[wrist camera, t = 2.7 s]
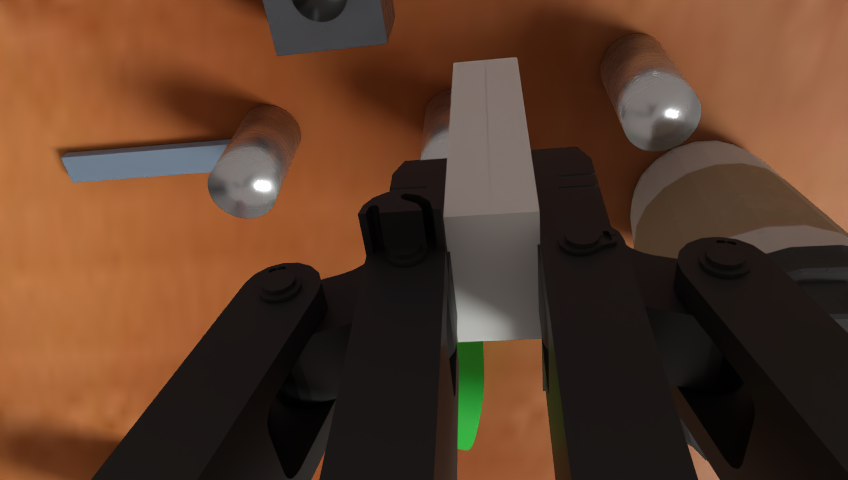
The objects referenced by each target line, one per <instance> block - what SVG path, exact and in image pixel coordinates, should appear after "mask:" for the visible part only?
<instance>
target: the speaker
mask: <svg viewBox="0 0 848 480" xmlns="http://www.w3.org/2000/svg"><path fill="white" fill-rule="evenodd" d="M263 4H264V8H265V12H266V16H267V19H268V23H269V27H270V31H271V35H272V38H273V42H274V46H275V50H276V53H277V56H282V55H291V54H300V53H309V52H318V51H327V50H336V49H344V48H353V47H362V46H371V45H380V44H388V40H389V36H390V33H391V29H392V26H393V22H394V18H395V12H394V6H393V0H263Z"/></svg>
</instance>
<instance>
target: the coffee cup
mask: <svg viewBox="0 0 848 480" xmlns="http://www.w3.org/2000/svg"><path fill="white" fill-rule="evenodd" d="M630 221H631V228H632V235H633V243H634V249H635V250H637V251H640V252H642V253H647V254H651V255H656V256H663V257H670V258H676V259H677V258H678V254H679V251H680V250H681V249H682V248H683V247H684V246H685V245H686V244H687V243H689V242H692V241H695V240H697V239H700V238H708V237H725V238H732V239H738V240H741V241H743V242H746V243H749V244H752V245H754V246H755V247H757V248H758V249H760V250H761V251H763V252H764V253H766V254H767V255H768V256H769V257H770V258H771V259H772V260H773V261H774V262H775V263H776V264H777V265H778V266H779V267H780V268H781V269H782V270H783V271H784V272H785V273H787V274H788V275H789V276H790V277H791V278H792V279H793V280H794V281H795V282H796V283H797V284H798V285H799V286H800V287H801V288H802V289H803V290H804V291H805V292H806V293H807V294H808V295H809V296H810V297H811V298H812V299H813V300H814V301H815V302H817V303H818V304H819V305H820V306H821V307H822V308H823V309H824V310H825V311H826V312H827V313H828V314H829V315H830V316H831V317H832V318H833V319H834V320H835V321H836V322H837V323H838V324H839V325H840V326H841V327H842V328H843V329H844V330H845V331H847V332H848V233H847V232H846V231H844V230H843V229H842V228H841V227H840V226H839V225H837V224H836V223H835V222H834V221H833V220H832V219H830V218H829V217H828V216H827V215H826V214H824V213H823V212H822V211H821V210H820V209H819V208H817V207H816V206H815V205H814V204H813V203H812V202H810V201H809V200H808V199H807V198H806V197H805V196H803V195H802V194H801V193H800V192H799V191H798V190H796V189H795V188H794V187H793V186H792V185H791V184H789V183H788V182H787V181H786V180H785V179H783V178H782V177H781V176H780V175H779V174H778V173H776V172H775V171H774V170H773V169H772V168H771V167H769V166H768V165H767V164H766V163H765V162H764V161H762V160H761V159H760V158H758V157H757V156H755V155H753V154H752V153H750V152H749V151H747V150H746V149H743V148H739V147H738V146H736V145H734V144H729V143H725V142H721V141H717V140H713V141H696V142H692V143H689V144H686V145H683V146H680V147H677V148H674V149H672V150H670V151H669V152H667V153H666V154H664V155H662V156H661V157H659V158H658V159H656V160H655V161H654V162H653V163H652V164H651V165H650V166H649V167H648V168H647V170H646V171H645V172H644V173H643V174H642V175H641V177H640V179H639V181H638V183H637V185H636V187H635V190H634V192H633V199H632V205H631V214H630ZM678 416H679V414H678ZM679 419H680V422H681V426H682V429H683V432H684V435H685V439H686V442H687V444H688V445H690V446H692V447H693V448H694V449H695V450H696V451H697V452H698V453H699V454H700V455H701V456H702V457H703V458H704V459H705V460H707V458H706V457H705V455H704V454H703V452H702V451H701V449H700V447H699V446H698V444H697V443H696V441H695V439H694V438H693V436H692V435H691V433H690V432H689V430H688V428H687V427H686V425H685V424H684V422H683V420H682V419H681V417H680V416H679ZM707 461H708V460H707Z"/></svg>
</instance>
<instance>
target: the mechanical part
mask: <svg viewBox="0 0 848 480" xmlns="http://www.w3.org/2000/svg"><path fill="white" fill-rule="evenodd" d="M457 350H458V359H459V396H458V447H457V449H462V450H469V449H470V448H471V447H472V445H473V442H474V440H475V436H476V433H477V429H478V425H479V420H480V414H481V408H482V400H483V390H484V358H483V341H473V342H458V337H457Z"/></svg>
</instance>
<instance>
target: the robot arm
mask: <svg viewBox="0 0 848 480" xmlns="http://www.w3.org/2000/svg"><path fill="white" fill-rule="evenodd" d="M358 217H359V222H360V227H361V231H362V236H363V241H364V246H365V251H366V260H365V264H363V265H362V266H360V267H358V268H356V269H354V270H352V271H349V272H346V273H344V274H341V275H337V276H333V277H330V278H326V279H322V280H321V279H320V275H319V272H317V271H316V270H315V269H314V268H313V267H311V266H309V265H305V264H301V263H283V264H279V265H275V266H271V267H268V268H266V269H264V270H262V271H260V272H258V273H256V274H255V275H254V276H252V277H251V278H250V279H249V280H248V281H247V282H246V283H245V284H244V285H243V286H242V288H241V289H240V290H239V291H238V293H237V294H236V295H235V297H234V298H233V299H232V300H231V302H230V303H229V304H228V306H227V307H226V308H225V309H224V311H223V312H222V313H221V314H220V316H219V317H218V318H217V320H216V321H215V322H214V323H213V325H212V326H211V327H210V329H209V330H208V331H207V332H206V334H205V335H204V336H203V337H202V339H201V340H200V341H199V343H198V344H197V345H196V346H195V348H194V349H193V350H192V352H191V353H190V354H189V355H188V357H187V358H186V359H185V360H184V362H183V363H182V364H181V366H180V367H179V368H178V369H177V371H176V372H175V373H174V375H173V376H172V377H171V378H170V380H169V381H168V382H167V383H166V385H165V386H164V387H163V389H162V390H161V391H160V392H159V394H158V395H157V396H156V398H155V399H154V400H153V401H152V403H151V404H150V405H149V406H148V408H147V409H146V410H145V412H144V413H143V414H142V415H141V417H140V418H139V419H138V420H137V422H136V423H135V424H134V426H133V427H132V428H131V429H130V431H129V432H128V433H127V435H126V436H125V437H124V438H123V440H122V441H121V442H120V443H119V445H118V446H117V447H116V449H115V450H114V451H113V452H112V454H111V455H110V456H109V458H108V459H107V460H106V461H105V463H104V464H103V465H102V466H101V468H100V469H99V470H98V472H97V473H96V474H95V475H94V477H93V478H92V479H91V480H311V479H312V477H313V475H314V473H315V471H316V469H317V467H318V465H319V463H320V460H321V458H322V456H323V454H324V452H325V456H324V460H323V465H322V470H321V475H320V479H319V480H457V447H458V396H459V359H458V350H457V337H458V342H473V341H498V340H522V339H542V367H543V391H546V398H547V407H548V416H549V425H550V434H551V443H552V452H553V461H554V470H555V479H556V480H698V478H697V474H696V471H695V468H694V465H693V461H692V458H691V455H690V452H689V448H688V445H687V442H686V439H685V435H684V432H683V429H682V426H681V422H680V419H679V416H680V417H681V419H682V420H683V422H684V424H685V425H686V427H687V428H688V430H689V432H690V433H691V435H692V436H693V438H694V439H695V441H696V443H697V444H698V446H699V447H700V449H701V451H702V452H703V454H704V455H705V457H706V458H707V460H708V462H709V463H710V465H711V466H712V468H713V470H714V471H715V473H716V474H717V476H718V477H719V479H720V480H848V332H847V331H845V330H844V329H843V328H842V327H841V326H840V325H839V324H838V323H837V322H836V321H835V320H834V319H833V318H832V317H831V316H830V315H829V314H828V313H827V312H826V311H825V310H824V309H823V308H822V307H821V306H820V305H819V304H818V303H817V302H815V301H814V300H813V299H812V298H811V297H810V296H809V295H808V294H807V293H806V292H805V291H804V290H803V289H802V288H801V287H800V286H799V285H798V284H797V283H796V282H795V281H794V280H793V279H792V278H791V277H790V276H789V275H788V274H787V273H785V272H784V271H783V270H782V269H781V268H780V267H779V266H778V265H777V264H776V263H775V262H774V261H773V260H772V259H771V258H770V257H769V256H768V255H767V254H766V253H764V252H763V251H761V250H760V249H758V248H757V247H755V246H754V245H752V244H749V243H746V242H743V241H741V240H738V239H732V238H725V237H708V238H700V239H697V240H695V241H692V242H689V243H687V244H686V245H685V246H684V247H683V248H682V249H681V250H680V251H679V254H678V258H677V259H676V258H670V257H663V256H656V255H651V254H647V253H642V252H640V251H637V250H635V249H632V248H630V247H628V246H627V245H626V244H625V240H624V239H623V237H622V236H621V234H620V233H619V231H617V230H615V229H614V228H612V227H611V225H610V222H609V219H608V215H607V212H606V208H605V205H604V202H603V198H602V195H601V191H600V188H599V186H598V181H597V178H596V176H595V171H594V167H593V164H592V160H591V158H590V157H588V156H587V155H586V154H585V153H584V152H582V151H581V150H580V149H579V148H578V147H568V148H554V149H540V150H531V149H530V142H529V135H528V129H527V122H526V115H525V108H524V101H523V94H522V87H521V80H520V74H519V67H518V60H517V57H512V58H501V59H490V60H478V61H467V62H456V63H453V77H452V92H451V107H450V123H449V138H448V153H447V158H441V159H428V160H414V161H405V162H404V163H403V164H402V165H401V166H400V167H399V168H398V169H397V170H396V171H395V172H394V174H393V175H392V180H391V186H390V191H389V192H387V193H384V194H382V195H379V196H376V197H374V198H372V199H371V200H370V201H368V202H367V203H366V204H364V205H363V206H362V208H361V210H360V212H359V213H358ZM678 414H679V416H678ZM325 450H326V451H325Z"/></svg>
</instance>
